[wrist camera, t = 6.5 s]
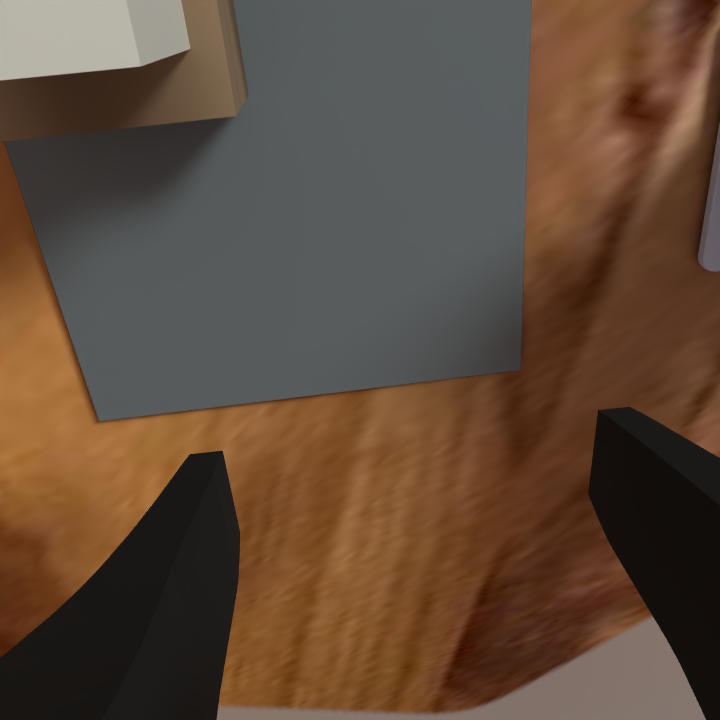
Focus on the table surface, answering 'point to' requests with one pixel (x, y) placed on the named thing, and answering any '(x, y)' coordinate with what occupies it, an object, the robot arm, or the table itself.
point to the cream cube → (87, 35)
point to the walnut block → (137, 86)
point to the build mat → (302, 214)
